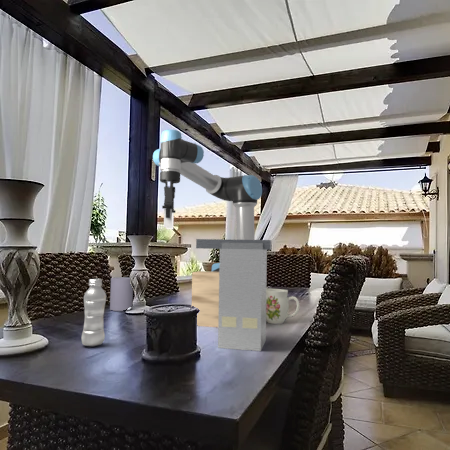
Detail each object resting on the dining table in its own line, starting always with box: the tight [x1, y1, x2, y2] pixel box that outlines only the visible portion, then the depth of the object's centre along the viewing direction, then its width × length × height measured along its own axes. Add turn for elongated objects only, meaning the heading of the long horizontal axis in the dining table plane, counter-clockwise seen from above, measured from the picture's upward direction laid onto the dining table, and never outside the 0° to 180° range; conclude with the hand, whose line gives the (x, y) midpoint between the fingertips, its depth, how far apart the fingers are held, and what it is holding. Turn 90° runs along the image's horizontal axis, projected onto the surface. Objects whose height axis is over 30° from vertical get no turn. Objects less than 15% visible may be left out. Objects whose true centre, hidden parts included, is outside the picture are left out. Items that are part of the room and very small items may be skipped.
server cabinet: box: [217, 242, 268, 352], centre depth 120 cm, size 13×13×32 cm
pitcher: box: [266, 287, 300, 325], centre depth 156 cm, size 11×18×14 cm, turn 69°
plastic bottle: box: [81, 278, 107, 347], centre depth 115 cm, size 6×7×20 cm
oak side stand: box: [191, 270, 219, 328], centre depth 150 cm, size 9×18×20 cm, turn 77°
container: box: [109, 276, 134, 312], centre depth 180 cm, size 10×10×15 cm
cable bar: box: [195, 238, 273, 251], centre depth 122 cm, size 4×24×3 cm, turn 77°
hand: (168, 228), depth 140 cm, fingers open, 13 cm apart
